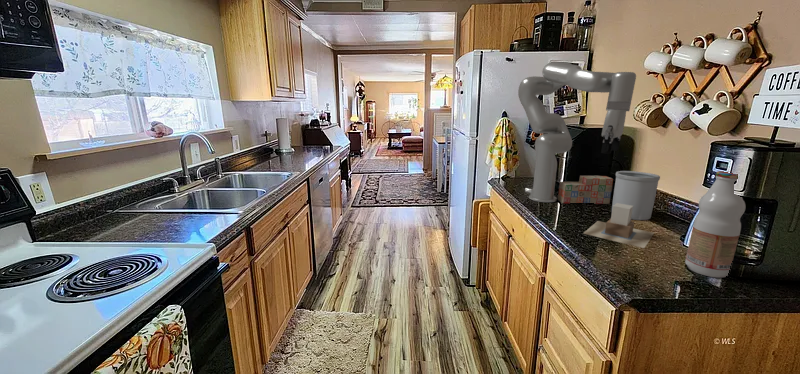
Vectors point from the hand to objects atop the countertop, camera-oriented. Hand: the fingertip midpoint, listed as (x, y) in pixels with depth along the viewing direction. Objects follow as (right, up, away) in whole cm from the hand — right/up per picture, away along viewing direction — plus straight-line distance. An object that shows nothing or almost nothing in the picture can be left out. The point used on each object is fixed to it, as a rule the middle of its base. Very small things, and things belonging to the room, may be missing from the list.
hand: (609, 152), depth 132 cm
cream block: (-4, -26, -13) cm, 29 cm away
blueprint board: (-4, -31, -12) cm, 33 cm away
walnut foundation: (-4, -30, -12) cm, 32 cm away
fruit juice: (+5, -37, -36) cm, 52 cm away
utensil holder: (+15, -25, +11) cm, 32 cm away
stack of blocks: (+5, -21, +29) cm, 36 cm away
